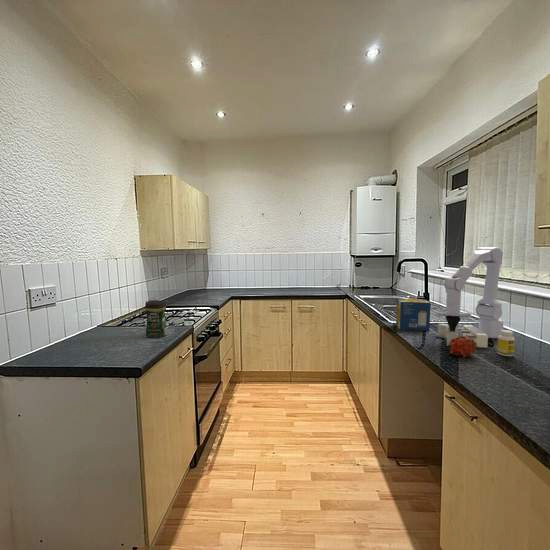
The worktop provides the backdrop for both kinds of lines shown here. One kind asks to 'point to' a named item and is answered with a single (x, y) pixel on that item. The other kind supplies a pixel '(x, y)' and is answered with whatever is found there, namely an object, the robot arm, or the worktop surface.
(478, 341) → the breaker panel
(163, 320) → the coffee jar
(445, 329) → the white cylinder tube
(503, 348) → the supplement bottle
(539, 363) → the worktop surface
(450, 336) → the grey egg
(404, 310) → the protein box
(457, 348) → the dragon fruit
